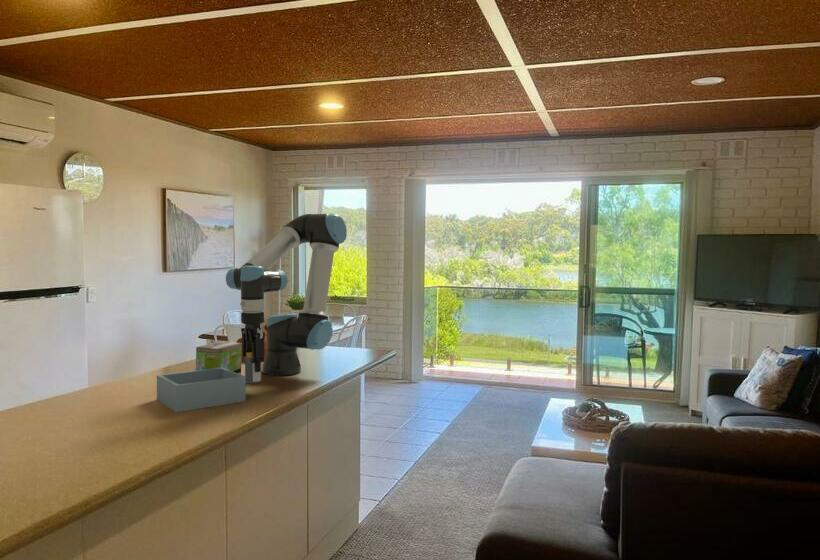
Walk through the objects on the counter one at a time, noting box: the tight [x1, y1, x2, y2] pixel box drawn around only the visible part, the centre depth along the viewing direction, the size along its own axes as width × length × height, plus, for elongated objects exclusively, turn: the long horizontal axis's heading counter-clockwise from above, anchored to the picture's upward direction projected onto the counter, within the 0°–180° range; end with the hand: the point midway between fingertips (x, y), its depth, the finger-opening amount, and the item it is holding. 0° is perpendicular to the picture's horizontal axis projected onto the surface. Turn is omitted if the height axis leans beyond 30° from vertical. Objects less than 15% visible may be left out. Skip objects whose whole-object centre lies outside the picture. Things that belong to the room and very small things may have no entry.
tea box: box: [195, 341, 242, 375], centre depth 212 cm, size 15×10×15 cm, turn 167°
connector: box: [244, 352, 262, 384], centre depth 201 cm, size 4×4×10 cm
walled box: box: [156, 367, 247, 413], centre depth 190 cm, size 22×18×8 cm
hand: (253, 379), depth 201 cm, fingers closed on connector, 4 cm apart
